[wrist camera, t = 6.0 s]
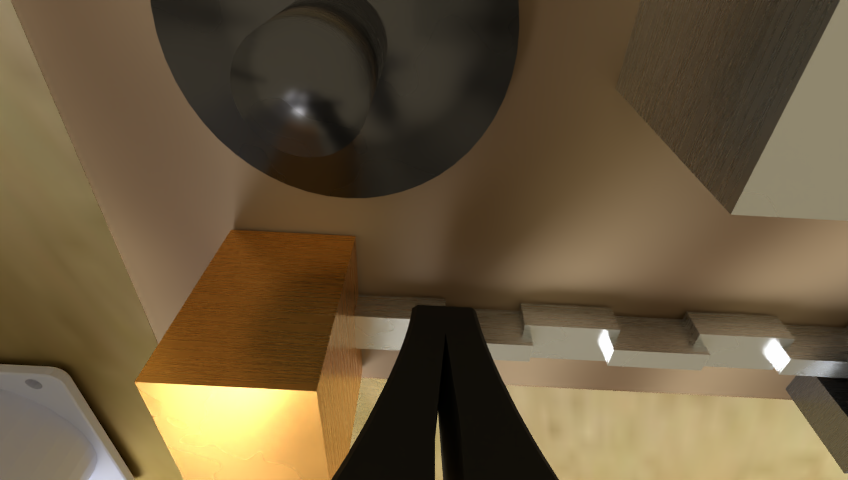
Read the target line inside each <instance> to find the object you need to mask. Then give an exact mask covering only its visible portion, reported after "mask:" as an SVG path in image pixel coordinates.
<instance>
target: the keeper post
mask: <svg viewBox="0 0 848 480" xmlns="http://www.w3.org/2000/svg"><path fill="white" fill-rule="evenodd" d="M150 1H151V10H152V14H153V19H154V24H155V28H156V33H157V36H158V39H159V42H160V45H161V48H162V51H163V54H164V57H165V60H166V62H167V64H168V66H169V68H170V71H171V73H172V75H173V77H174V79H175V81H176V83H177V85H178V86H179V88H180V90H181V91H182V93H183V95H184V96H185V98H186V100H187V102H188V103H189V104H190V106H191V107H192V108H193V110H194V111H195V112H196V114H197V115H198V116H199V118H200V119H201V120H202V122H203V123H204V124H205V125H206V126H207V127H208V128H209V129H210V131H211V132H212V133H213V134H214V135H215V136H216V137H217V138H218V139H219V140H220V141H221V142H222V143H223V144H225V145H226V146H227V147H228V148H229V149H230V150H231V151H232V152H233V153H235V154H236V155H237V156H239V157H240V158H241V159H243V160H244V161H246V162H247V163H248V164H250V165H251V166H252V167H254V168H256V169H258V170H259V171H261V172H263V173H264V174H266V175H268V176H270V177H272V178H274V179H276V180H278V181H280V182H282V183H285V184H287V185H289V186H292V187H295V188H298V189H301V190H304V191H307V192H311V193H315V194H320V195H324V196H331V197H340V198H371V197H380V196H386V195H391V194H395V193H399V192H403V191H406V190H408V189H411V188H414V187H416V186H419V185H422V184H423V183H425V182H427V181H429V180H431V179H433V178H435V177H437V176H439V175H440V174H442V173H443V172H444V171H446V170H447V169H449V168H450V167H452V166H453V165H454V164H456V163H457V162H458V161H459V160H460V159H461V158H462V157H463V156H465V155H466V154H467V153H468V152H469V151H470V150H471V149H472V147H473V146H474V145H475V144H476V143H477V142H478V141H479V139H480V138H481V137H482V136H483V134H484V133H485V131H486V130H487V128H488V127H489V125H490V124H491V122H492V121H493V120H494V118H495V116H496V114H497V112H498V110H499V108H500V106H501V104H502V102H503V100H504V98H505V95H506V92H507V89H508V86H509V84H510V81H511V78H512V74H513V69H514V65H515V60H516V56H517V49H518V38H519V0H150Z"/></svg>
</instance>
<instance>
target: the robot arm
mask: <svg viewBox="0 0 848 480" xmlns="http://www.w3.org/2000/svg"><path fill="white" fill-rule="evenodd" d="M437 415H438V416H439V429H440V443H441V456H442V469H443V480H559V479H558V478H557V476H556V474H555V473H554V471H553V470H552V468H551V467H550V465H549V463H548V462H547V460H546V459H545V457H544V456H543V454H542V452H541V451H540V449H539V447H538V446H537V444H536V442H535V441H534V439H533V437H532V435H531V434H530V432H529V430H528V428H527V426H526V425H525V423H524V421H523V419H522V417H521V416H520V414H519V412H518V410H517V408H516V406H515V404H514V402H513V400H512V399H511V397H510V395H509V392H508V390H507V388H506V386H505V384H504V382H503V380H502V378H501V376H500V374H499V372H498V369H497V367H496V365H495V363H494V360H493V358H492V356H491V353H490V351H489V348H488V346H487V343H486V341H485V338H484V335H483V333H482V330H481V327H480V323H479V320H478V317H477V313H476V311H475V310H474V309H473V308H470V307H451V306H431V305H416V306H415V307H413V308H412V312H411V317H410V322H409V325H408V329H407V332H406V335H405V338H404V341H403V344H402V346H401V349H400V352H399V354H398V357H397V359H396V361H395V364H394V366H393V368H392V371H391V373H390V375H389V378H388V380H387V382H386V384H385V386H384V388H383V390H382V392H381V394H380V396H379V398H378V400H377V402H376V404H375V406H374V408H373V410H372V412H371V414H370V416H369V418H368V419H367V421H366V423H365V425H364V427H363V428H362V430H361V432H360V434H359V435H358V437H357V439H356V441H355V442H354V444H353V446H352V447H351V449H350V451H349V452H348V454H347V456H346V457H345V459H344V460H343V462H342V464H341V465H340V467H339V468H338V470H337V471H336V473H335V474H334V476H333V477H332V479H331V480H435V433H436V424H437ZM0 480H135V478H134V477H133V475H132V474H131V472H130V470H129V469H128V467H127V466H126V464H125V462H124V461H123V459H122V458H121V456H120V455H119V453H118V451H117V450H116V448H115V447H114V445H113V443H112V442H111V440H110V439H109V437H108V435H107V434H106V432H105V431H104V429H103V428H102V426H101V424H100V423H99V421H98V420H97V418H96V416H95V415H94V413H93V412H92V410H91V408H90V407H89V405H88V404H87V402H86V401H85V399H84V397H83V396H82V394H81V393H80V391H79V389H78V388H77V386H76V385H75V383H74V382H73V380H72V378H71V377H70V375H69V374H68V373H67V372H65V371H64V370H62V369H59V368H57V367H50V366H30V365H11V364H0Z"/></svg>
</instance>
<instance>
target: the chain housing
mask: <svg viewBox="0 0 848 480" xmlns="http://www.w3.org/2000/svg"><path fill="white" fill-rule="evenodd" d="M786 391H787V392H788V394H789V395H790V397H791V398H792V399H793V401H794V402H795V404H796V405H797V407H798V408H799V409H800V411H801V412H802V414H803V415H804V416H805V418H806V419H807V421H808V422H809V424H810V425H811V426H812V428H813V429H814V431H815V432H816V434H817V435H818V436H819V438H820V439H821V441H822V442H823V444H824V445H825V446H826V448H827V449H828V451H829V452H830V454H831V455H832V456H833V458H834V459H835V461H836V462H837V464H838V465H839V466H840V468H841V469H842V471H843V472H844V473H848V378H836V377H816V376H797V375H796V376H795V377H794V379H793V380H792V381H791V382H790V384H789V385H788V386H787V387H786Z"/></svg>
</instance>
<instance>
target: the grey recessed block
mask: <svg viewBox="0 0 848 480" xmlns="http://www.w3.org/2000/svg"><path fill="white" fill-rule="evenodd" d="M616 90H617V91H618V92H619V93H620V94H621V95H622V97H623V98H624V99H625V100H626V101H627V102H628V103H629V104H630V105H631V106H632V107H633V109H634V110H635V111H636V112H637V113H638V114H639V115H640V116H641V117H642V118H643V119H644V121H645V122H646V123H647V124H648V125H649V126H650V127H651V128H652V129H653V130H654V131H655V133H656V134H657V135H658V136H659V137H660V138H661V139H662V140H663V141H664V142H665V144H666V145H667V146H668V147H669V148H670V149H671V150H672V151H673V152H674V153H675V154H676V156H677V157H678V158H679V159H680V160H681V161H682V162H683V163H684V164H685V165H686V166H687V168H688V169H689V170H690V171H691V172H692V173H693V174H694V175H695V176H696V177H697V178H698V180H699V181H700V182H701V183H702V184H703V185H704V186H705V187H706V188H707V189H708V190H709V192H710V193H711V194H712V195H713V196H714V197H715V198H716V199H717V200H718V201H719V202H720V204H721V205H722V206H723V207H724V208H725V209H726V210H727V211H728V212H729V213H730V214H731V215H746V216H765V217H784V218H803V219H822V220H842V221H848V0H641V1H640V5H639V8H638V12H637V15H636V19H635V22H634V26H633V29H632V33H631V36H630V40H629V43H628V47H627V50H626V54H625V57H624V61H623V65H622V68H621V72H620V75H619V79H618V82H617V86H616Z"/></svg>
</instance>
